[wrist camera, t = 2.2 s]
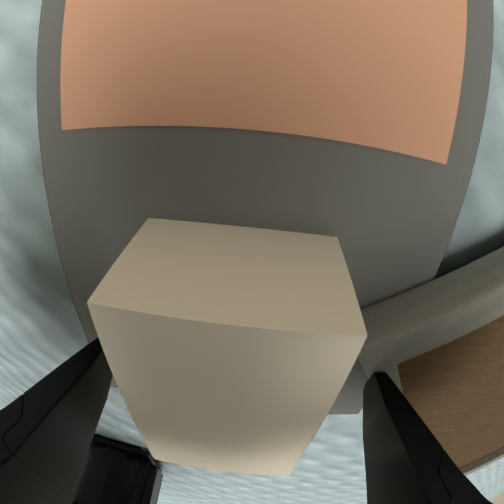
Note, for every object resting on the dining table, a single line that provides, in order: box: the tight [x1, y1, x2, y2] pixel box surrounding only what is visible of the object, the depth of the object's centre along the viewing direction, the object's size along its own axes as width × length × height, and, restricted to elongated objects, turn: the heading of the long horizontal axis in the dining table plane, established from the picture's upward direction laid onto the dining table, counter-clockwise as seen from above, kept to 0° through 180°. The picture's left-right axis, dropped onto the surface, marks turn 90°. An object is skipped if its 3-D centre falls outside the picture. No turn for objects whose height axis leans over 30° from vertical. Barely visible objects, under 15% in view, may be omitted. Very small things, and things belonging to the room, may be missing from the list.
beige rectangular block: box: [87, 218, 368, 476], centre depth 9 cm, size 5×8×4 cm, turn 176°
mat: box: [37, 0, 493, 414], centre depth 8 cm, size 12×20×1 cm, turn 175°
